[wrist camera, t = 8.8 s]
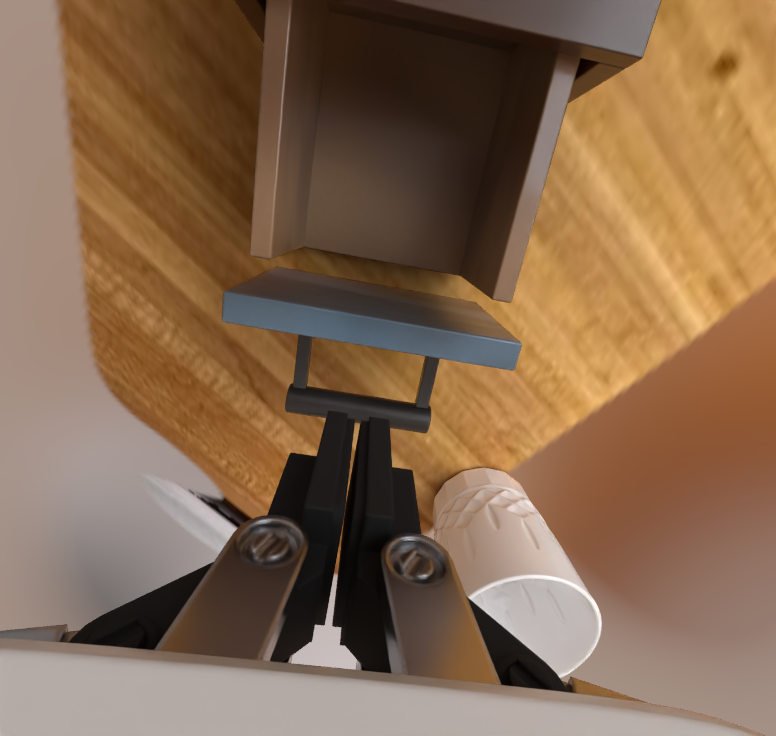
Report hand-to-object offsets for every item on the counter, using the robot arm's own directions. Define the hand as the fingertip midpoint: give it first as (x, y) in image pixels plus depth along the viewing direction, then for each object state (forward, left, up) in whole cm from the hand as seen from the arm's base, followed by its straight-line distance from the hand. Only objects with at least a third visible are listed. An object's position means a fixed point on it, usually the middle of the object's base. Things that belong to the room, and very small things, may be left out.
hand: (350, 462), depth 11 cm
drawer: (-2, +6, -14) cm, 15 cm away
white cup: (+14, -8, -15) cm, 22 cm away
